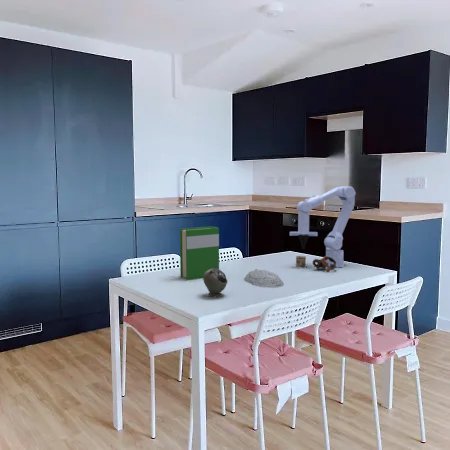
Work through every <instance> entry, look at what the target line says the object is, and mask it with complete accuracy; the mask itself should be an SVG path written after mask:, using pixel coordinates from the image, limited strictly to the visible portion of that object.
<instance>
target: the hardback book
mask: <svg viewBox="0 0 450 450" xmlns="http://www.w3.org/2000/svg"><path fill="white" fill-rule="evenodd" d="M179 261H180V265H179V266H180V273H179V274H180V276H179V277H180V278H185V280H186V281H193V280H200V279H203V276H204V274H205V272H206V271H208V270H210V269H212V268H215V266H216V267H217V268H218V269H219V270H220V228H219V227H217V226H199V227H188V228H187V227H186V228H179Z"/></svg>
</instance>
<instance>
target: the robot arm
mask: <svg viewBox="0 0 450 450" xmlns="http://www.w3.org/2000/svg"><path fill="white" fill-rule="evenodd" d="M356 194H357V193H356V190H355V188H354V187H353V186H350V185H348V186H346V185H345V186H344V185H339V186H337V187H334V188H332V189H330V190H329V191H327V192H325V193H323V194H320V195H318V194H313V195H312V196H311V197H309V198H305V199H304V201H303V200H302V201H299V202H298V203H297V204H296V205H297V206H296V210H297V212H298V215H297V216H298V217H297V221H298V223H297V228H298V229H297V231H289V236H290V237H291V236H292V237H293V236H296V237H297V236H298V237H297V238H298V240H299V241H300V245H301V250H305V248H306V245H307V242H308V239H309V238H310V237H318V232H317V231H310V212H311V211H312V210H313V209H315V208H317V207H320V206H321V205H323V202H325V201H327V200H329V199H333V198H335V197H338V198H339V199H340V200H341V202H342V204H343V205H342V207H341V210H340V213H339V214H338V217H337V219H336V222H335V224H334V226H333V229H332V231H330V232H329V233H328V235H327V236H326V237H325V238H324V241H323V243H324V246H325V256H328V257H331V258H333V259H334V260H335V261H336V267H335V268H344V262H345V261H344V250H343V249H341V248H342V247H343V240H344V237H343V233H344V231H345V228H346V226H347V223H348V221H349V219H350V217H351V215H352V212H353V209H354V207H355V202H356V200H355V196H356ZM326 262H327V263H329V264H328V265H329V266H330V264H334V263H333V262H330V260H329V259H327V260H326Z"/></svg>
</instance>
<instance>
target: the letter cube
mask: <svg viewBox="0 0 450 450" xmlns="http://www.w3.org/2000/svg"><path fill="white" fill-rule="evenodd" d="M306 259H307V257H306V256H305V255H296V257H295V267H297V268H298V267H299V268H300V267H301V268H306V264H307V263H306Z"/></svg>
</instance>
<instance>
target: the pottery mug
mask: <svg viewBox="0 0 450 450" xmlns="http://www.w3.org/2000/svg"><path fill="white" fill-rule="evenodd" d="M327 259H329V260H330V262H333V263H334V264H330V266H329V265H328V264H329V263H327V262H326V260H327ZM312 265H313V267H315V268H316V270H319V269H326V270H325V271H326V272H327V273H330V271H333V270H335V269H336V268H337V267H336V261H335V260H334V259H333V258H331V257H328V256H326V255H325V256H323V257H321V258H320V259H318V258H315V259H313V260H312Z"/></svg>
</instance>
